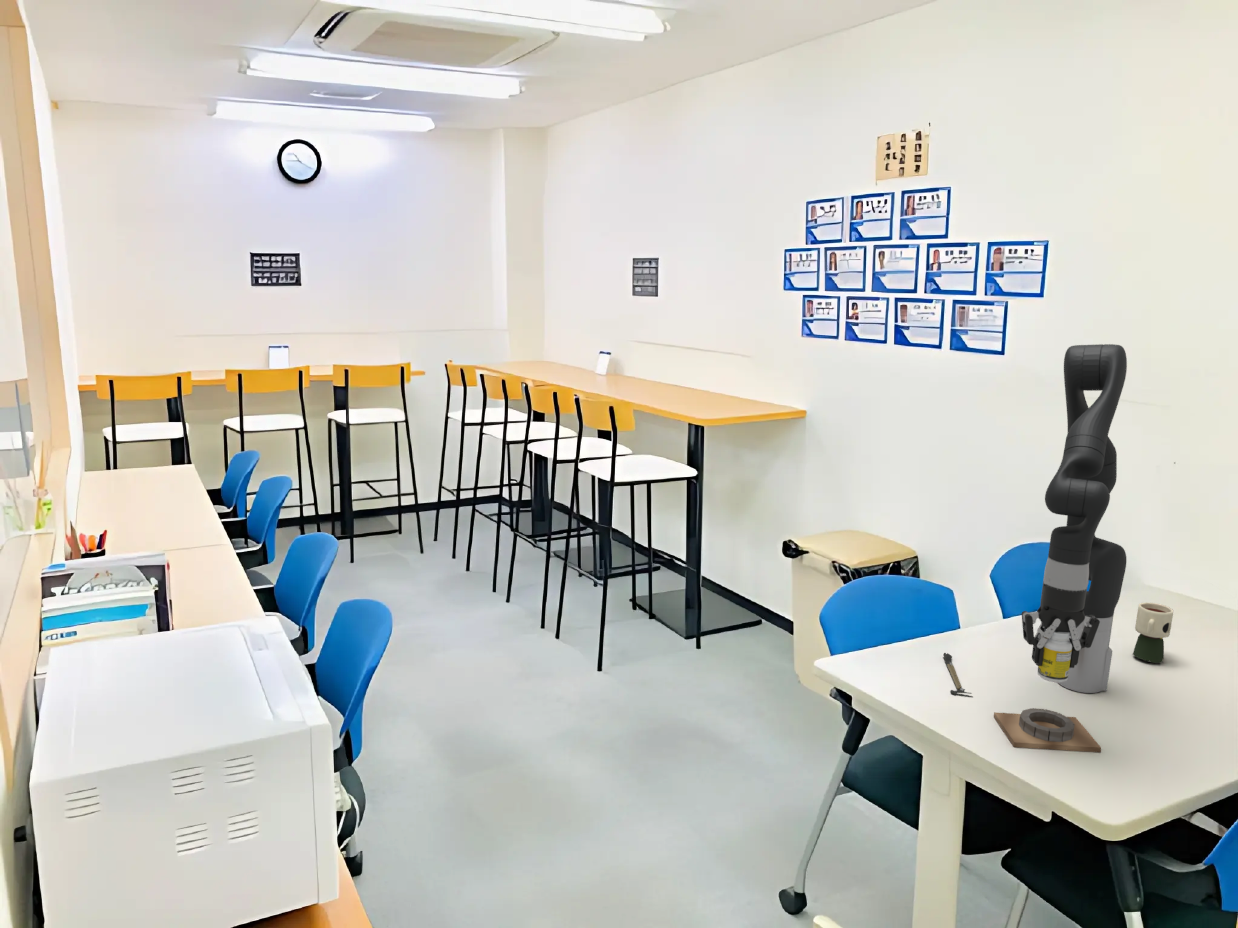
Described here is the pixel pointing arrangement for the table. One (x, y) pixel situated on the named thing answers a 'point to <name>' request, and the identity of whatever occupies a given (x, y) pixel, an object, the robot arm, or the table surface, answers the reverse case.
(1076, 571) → the robot arm
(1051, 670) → the supplement bottle
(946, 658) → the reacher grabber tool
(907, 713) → the table surface
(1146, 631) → the character mug
